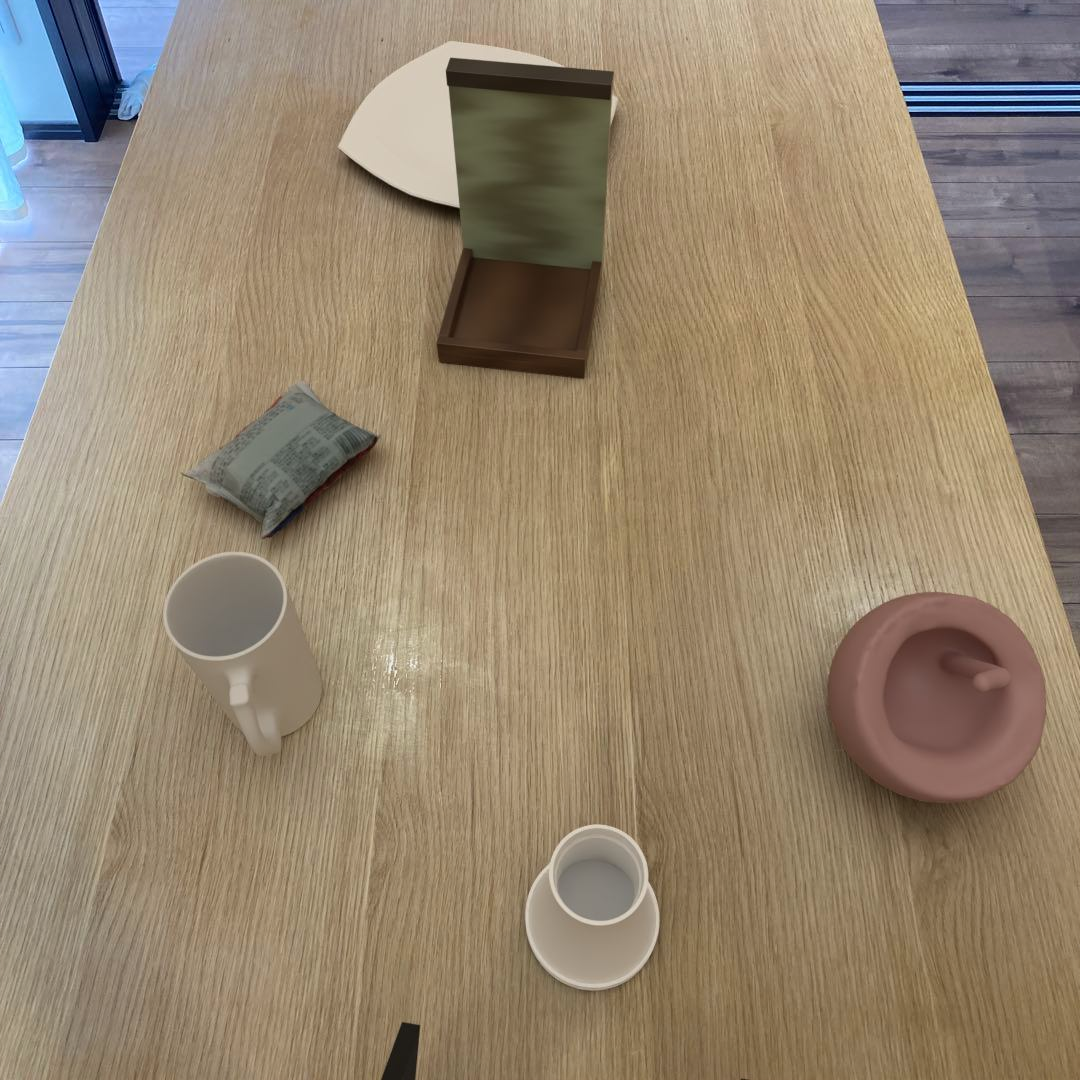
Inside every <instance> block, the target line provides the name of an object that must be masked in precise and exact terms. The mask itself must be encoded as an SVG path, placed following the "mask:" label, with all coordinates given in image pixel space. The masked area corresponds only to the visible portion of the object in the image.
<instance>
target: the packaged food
mask: <svg viewBox="0 0 1080 1080" xmlns="http://www.w3.org/2000/svg"><path fill="white" fill-rule="evenodd" d="M381 436H382V434H377V433H375V432H373V431H371V430H369V429H367V428H361V427H359V426H358V425H355V424H353V423H352V422H351V421H349V420H346V419H345V418H342V417H341V416H339V415H338V414H336V413H335V412H333V411H331V410H330V409H329V408H327V407H326V406H325V405H324V404H323V402H322V401H321V400H320V399H319V397H318V396H317V395H316V393H315V392H314V390H313V388H312V387H311V385H310V383H309V382H308V381H307V380H301V381H299V382H296V383H293V384H292V385H290V386H288V389H287V392H286V391H284V392H282V393H281V394H280V395H279V397H278V398H277V399H275V401H274V402H273V403H272V404H271V405H270V406H269V407H268V408H267V409H265V411H264V412H263V414H261V415H260V416H259V417H257V418H256V419H254V420H253V421H252V422H250V423H249V424H248V425H246V426H245V427H243V428H242V429H241V430H240V431H239V432H237V434H236V435H235V436H234V437H233V439H232V440H231V441H229V442H227V443H225V444H223V445H222V446H220V447H219V448H218V449H216V450H215V451H214V452H211V453H209V455H207V456H206V457H204V459H202V460H201V461H200V462H198V464H196V465H195V466H194V467H193V468H191V469H190V470H189V471H188V472H186V473H183V472H181V471H180V472H179V473H180V475H181V476H184V477H186V478H189V479H191V480H194V481H196V482H200V483H202V484H204V485H205V489H206V492H207V493H208V494H209V495H211V496H214V497H216V498H220V497H221V498H222V499H224V500H225V501H227V502H229V504H231V505H232V506H234V507H235V508H238V509H240V510H241V511H244V512H246V513H248V514H250V515H251V516H252V517H253V518H254V519H255V521H257V522H258V523H260V524H262V526H261V531H260V532H261V535H260V539H262V540H265V539H270V538H272V537H273V536H274V535H276V534H277V533H279V532H280V531H282V530H283V529H285V528H286V527H287V526H288V525H289V524H291V523H292V521H293V520H295V519H296V518H297V517H298V516H299V515H300V514H301V513H302V512H303V511H304V510H305V509H306V507H308V506H309V505H310V504H311V503H312V502H313V501H315V499H316V498H317V497H318V496H319V495H320V493H322V492H323V491H324V490H326V489H327V488H329V487H330V486H331V485H332V484H334V483H335V482H336V481H337V480H339V479H340V478H341V477H342V476H343V475H344V474H346V472H347V471H349V470H351V469H352V468H353V467H354V466H356V464H357V463H359V462H361V460H362V459H363V458H365V457H367V456H368V455H369V454H370V452H371V451H372V450H373V448H374V447H375V446H376V444H378V441H379V439H380V438H381Z"/></svg>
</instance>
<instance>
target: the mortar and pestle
mask: <svg viewBox="0 0 1080 1080" xmlns="http://www.w3.org/2000/svg"><path fill="white" fill-rule="evenodd" d="M1034 650H1035V649H1034V648H1033V647H1032V644H1031V642H1030V641H1029V639H1028V638H1027V636H1026V635H1025V633H1024V632H1023V630H1022V629H1021V628H1020V627H1019V625H1018V624H1016V622H1015V621H1014V620H1013V618H1011V617H1010V616H1009V615H1007V614H1006V613H1004V612H1002V610H1001V609H1000V608H998V607H995V606H994V605H992V604H991V603H988V602H986V601H984V600H982V599H979V598H977V597H975V596H970V595H963V594H957V593H952V592H943V591H942V592H941V591H922V592H916V593H910V594H905V595H902V596H897V597H895V598H892V599H890V600H887V601H885V602H882V603H881V604H879V605H878V606H876V607H874V608H872V609H871V610H869V611H868V612H867V613H866V614H864V615H863V616H861V617H860V618H859V619H858V620H857V621H856V622H855V623H854V624H853V625H852V627H850V629H849V630H848V631H847V633H846V634H845V635H844V637H843V638H842V640H841V642H839V645H838V647H837V648H836V650H835V653H834V655H833V658H832V661H831V663H830V667H829V672H828V677H827V686H826V689H827V690H826V694H827V695H826V699H827V708H828V712H829V717H830V720H831V721H830V722H831V724H832V727H833V730H834V732H835V735H836V736H837V738H838V740H839V742H840V744H841V746H842V747H843V749H844V750H845V752H846V754H847V755H848V756H849V758H850V759H851V760H852V762H854V764H855V765H856V766H858V768H859V769H860V770H861V771H862V772H863V773H864V774H865V775H867V776H868V777H869V778H870V779H872V780H873V781H875V782H876V783H877V784H879V785H880V786H882V787H884V788H886V789H887V790H889V791H891V792H893V793H896V794H897V795H900V796H903V797H906V798H908V799H912V800H916V801H920V802H925V803H933V804H957V803H958V804H959V803H964V802H965V803H966V802H970V801H974V800H978V799H981V798H984V797H987V796H989V795H992V794H994V793H996V792H998V791H1000V790H1002V789H1004V788H1005V787H1007V786H1008V785H1010V784H1012V783H1013V782H1014V781H1015V780H1016V779H1017V778H1018V777H1019V776H1020V775H1021V774H1022V773H1023V772H1024V771H1025V769H1026V768H1027V767H1028V765H1029V764H1030V763H1032V761H1033V759H1034V757H1035V755H1036V754H1037V752H1038V750H1039V748H1040V745H1041V742H1042V737H1043V734H1044V733H1043V732H1044V728H1045V724H1046V717H1047V716H1046V715H1047V698H1046V697H1047V696H1046V694H1047V693H1046V691H1047V690H1046V683H1045V678H1044V674H1043V670H1042V666H1041V663H1040V662H1039V659H1038V657H1037V654H1036V653H1035V651H1034Z"/></svg>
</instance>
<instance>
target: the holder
mask: <svg viewBox="0 0 1080 1080" xmlns="http://www.w3.org/2000/svg"><path fill="white" fill-rule="evenodd" d="M614 79H615V71H613V70H602V69H592V68H591V69H590V68H580V67H579V68H578V67H566V66H564V67H556V66H544V65H532V64H521V63H509V62H497V61H485V60H474V59H462V58H450V60H449V62H448V65H447V68H446V80H447V86H449V97H450V108H451V119H452V130H453V141H454V152H455V163H456V174H457V185H458V196H459V207H460V209H459V215H460V216H459V218H460V229H461V238H462V239H461V241H462V250H461V253H460V258H459V261H458V264H457V268H456V272H455V276H454V279H453V282H452V286H451V289H450V293H449V296H448V300H447V303H446V307H445V311H444V315H443V318H442V322H441V325H440V329H439V332H438V336H437V338H436V339H437V340H436V350H437V358H438V362H439V363H444V364H450V365H451V364H452V365H461V366H469V367H478V368H487V369H497V370H504V371H505V370H506V371H513V372H525V373H532V374H533V373H534V374H542V375H550V376H558V377H567V378H577V379H584V378H585V375H586V370H587V364H588V359H589V358H588V357H589V353H590V347H591V341H592V335H593V330H594V325H595V319H596V313H597V312H596V311H597V307H598V301H599V295H600V288H601V283H602V278H603V264H604V250H605V249H604V248H605V247H604V246H605V231H606V230H605V228H606V214H607V213H606V211H607V196H608V195H607V194H608V192H607V191H608V177H609V176H608V175H609V159H610V141H611V126H612V123H611V109H612V95H613V89H614Z"/></svg>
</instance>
